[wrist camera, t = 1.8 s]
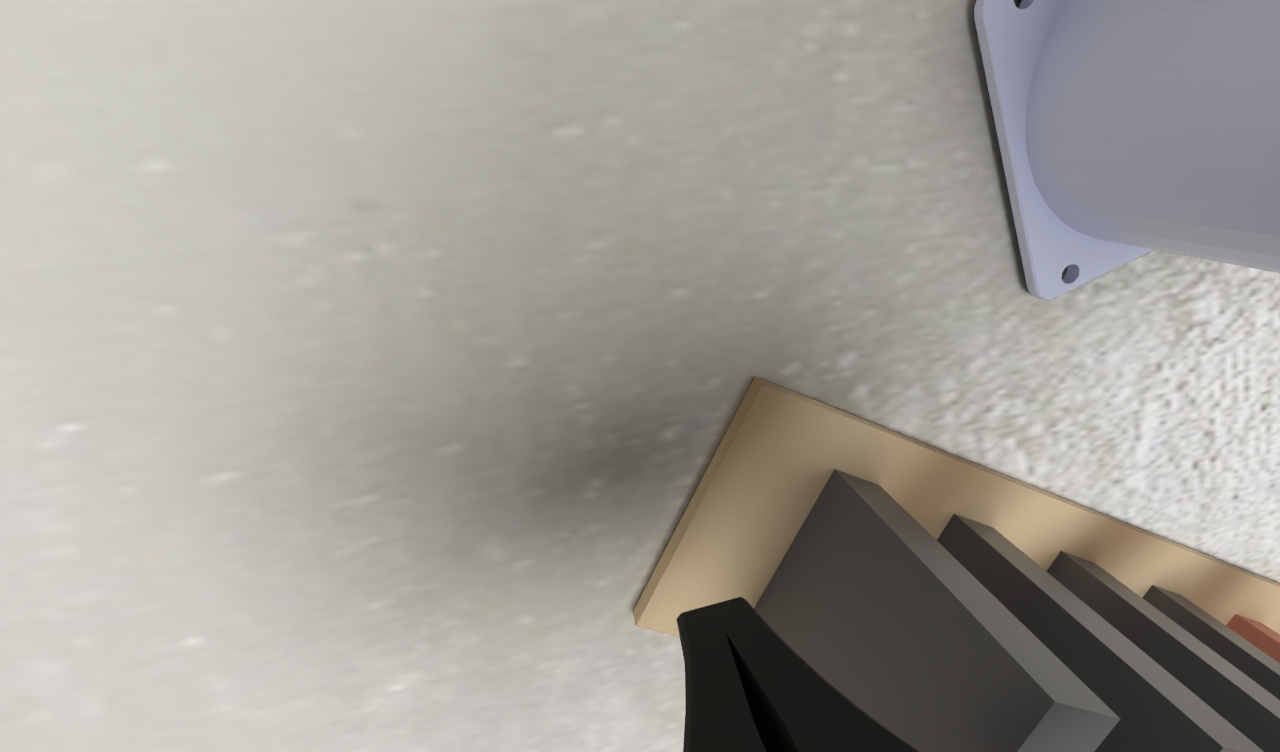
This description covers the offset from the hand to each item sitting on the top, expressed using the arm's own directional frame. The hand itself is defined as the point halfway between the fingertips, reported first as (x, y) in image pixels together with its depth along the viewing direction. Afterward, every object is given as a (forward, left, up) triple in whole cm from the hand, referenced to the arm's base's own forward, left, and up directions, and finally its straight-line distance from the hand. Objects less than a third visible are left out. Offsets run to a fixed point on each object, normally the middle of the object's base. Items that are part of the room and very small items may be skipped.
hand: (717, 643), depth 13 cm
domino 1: (-3, +4, -5) cm, 7 cm away
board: (-9, +10, -6) cm, 15 cm away
